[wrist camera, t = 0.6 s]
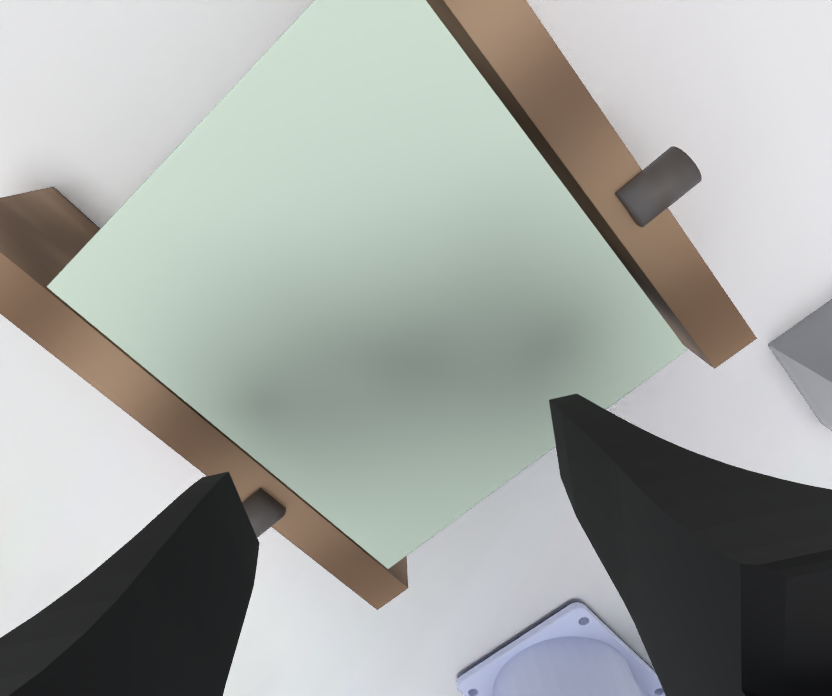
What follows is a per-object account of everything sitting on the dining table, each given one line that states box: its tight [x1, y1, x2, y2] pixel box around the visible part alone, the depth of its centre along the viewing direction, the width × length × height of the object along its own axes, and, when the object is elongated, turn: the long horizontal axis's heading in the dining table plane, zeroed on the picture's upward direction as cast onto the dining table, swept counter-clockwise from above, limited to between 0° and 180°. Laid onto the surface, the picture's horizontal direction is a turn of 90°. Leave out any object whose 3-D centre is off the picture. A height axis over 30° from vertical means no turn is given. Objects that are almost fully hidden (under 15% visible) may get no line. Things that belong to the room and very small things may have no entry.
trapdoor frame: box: [0, 0, 757, 610], centre depth 18 cm, size 18×18×6 cm
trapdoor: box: [47, 0, 687, 569], centre depth 18 cm, size 14×12×4 cm
